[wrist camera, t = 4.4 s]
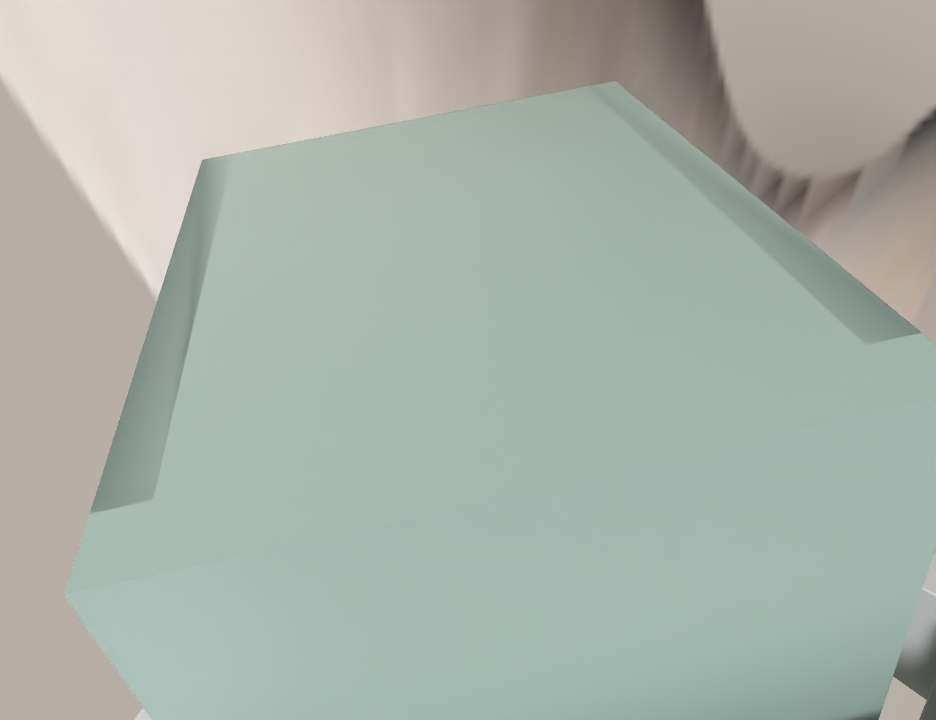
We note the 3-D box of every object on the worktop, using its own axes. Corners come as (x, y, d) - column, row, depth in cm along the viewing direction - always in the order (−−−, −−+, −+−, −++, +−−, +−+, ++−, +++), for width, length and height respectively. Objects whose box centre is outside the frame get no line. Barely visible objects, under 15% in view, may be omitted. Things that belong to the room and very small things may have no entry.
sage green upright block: (202, 160, 13) (64, 595, 5) (615, 80, 13) (990, 388, 6) (351, 584, 19) (377, 1039, 12) (624, 522, 19) (809, 925, 12)
